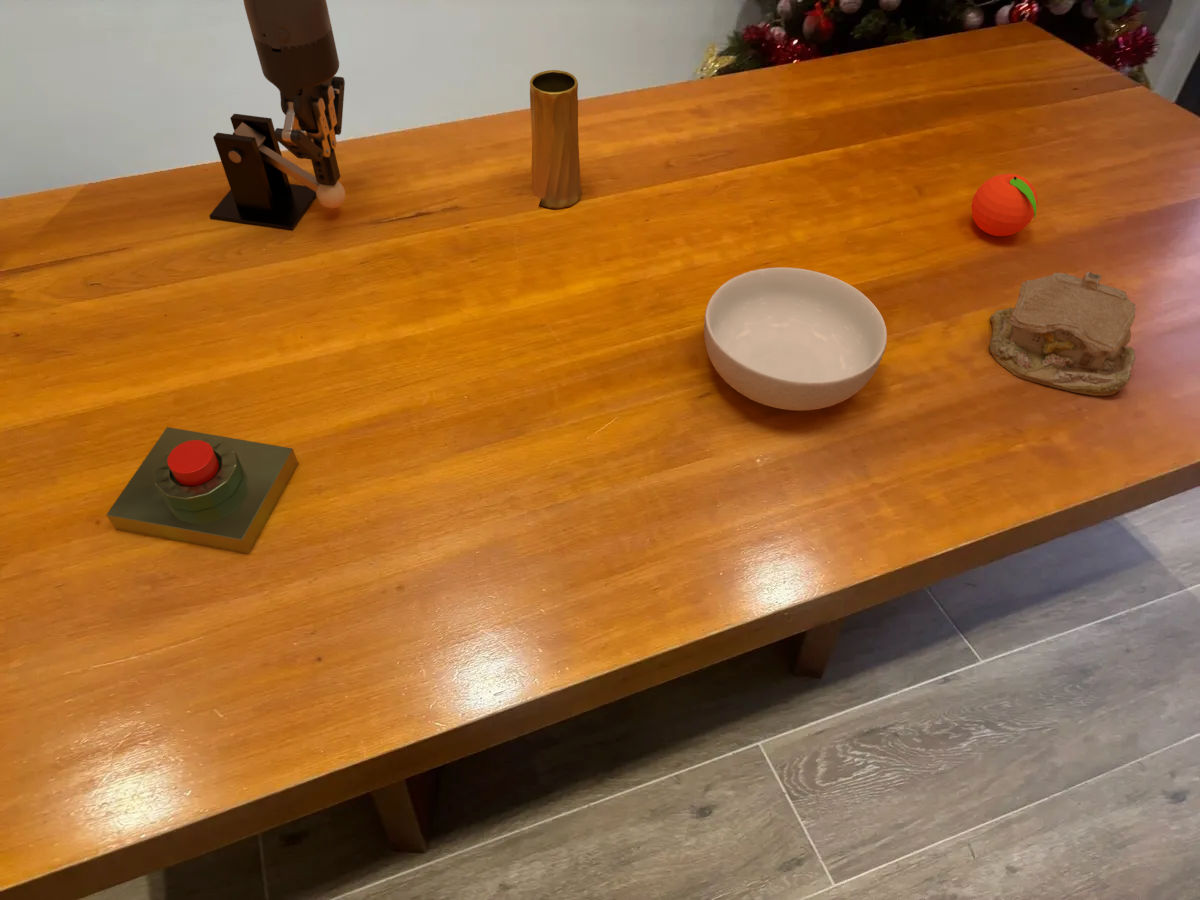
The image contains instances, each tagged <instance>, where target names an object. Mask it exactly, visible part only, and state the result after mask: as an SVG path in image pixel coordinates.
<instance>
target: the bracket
mask: <svg viewBox="0 0 1200 900" xmlns="http://www.w3.org/2000/svg"><path fill="white" fill-rule="evenodd" d="M229 119H230V123H231V125H232V129H233V132H234V131H235V130H236V129H237V128H238V126H239V125H240V124H241V123H242V122H243V123H244V124H246V125H248V126H249V127H251V128H252V129H254V130H256V131H257V132H259V133H261V134H262V135H264V136H265V137H266V139H265V142H264V144H263V145H265V146H266V147H268V148H269V149H271V150H273V151H274V152H276V153H278V154H279V155H281V156H282V151H281V148H280V143H279V142H278V141H277V140H276V138H275V130H276V129H275V126H274V123H273V119H272V118H271V117H264V116H257V115H250V114H249V115H248V114H242V113H241V114H240V113H233V114H232V115H231V117H230V118H229ZM212 138H213V141H214V144H215V147H216V150H217V153H218V156H219V159H220V162H221V164H222V168H223V171H224V174H225V177H226V180H227V183H228V185H229V188H230V190H229V191H227V193H226V195H225V196H224V197H223V198H221V200H220V202H219V203H218V204H217V205H216V206H215V208H214V209H213V210H212V212H210V214H209V216H208V217H209V219H210V220H214V221H220V222H227V223H234V224H241V225H247V226H255V227H262V228H269V229H276V230H283V231H290V232H291V231H292V232H293V231H294V230H295V229H296V227H297V225H298V224H299V223H300V221H301V220H302V218H303V217H304V216H305V214H306V213H307V211H308V210H309V208H310V207H311V205H312V204H313V203H314V202H315V200H316V199H317V196H316V192H315V191H313V190H312V189H310V188H308V187H307V186H305V185H303V184H294V183H290V180H289V175H287V174H285V173H284V172H282V171H280V170H279V169H277V168H276V167H274V166H272V165H271V164H269V163H267V162H266V161H264V160H262V159H261V155H260V152H259V149H258V145H257V142H256V138H255V137H248V136H240V135H233V133H224V132H216V133H215V135H213V137H212ZM282 157H283V156H282Z"/></svg>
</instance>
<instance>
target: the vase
mask: <svg viewBox="0 0 1200 900" xmlns="http://www.w3.org/2000/svg"><path fill="white" fill-rule="evenodd" d="M578 90H579V82H578V79H577V77H576V76H575V75H574V74H572V73H570V72H568V71H565V70H559V69H548V70H543V71H540V72H538V73H535V74H534V75H532V77H531V78H530V80H529V106H530V109H529V110H530V122H531V123H530V125H531V126H530V127H531V191H532V192H533V194H534V196H535V197H537V198H539V199H540V201H539V203H538V205H539V206H541V207H544V208H548V209H563V208H568V207H571V206H574V205H575V204H576V203H578V201H579V200H580V199H581V197H582V193H583V192H582V187H581V168H580V166H581V165H580V148H579V147H580V146H579V145H580V144H579V143H580V142H579V95H578V94H579V93H578V92H579V91H578Z"/></svg>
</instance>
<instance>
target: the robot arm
mask: <svg viewBox="0 0 1200 900" xmlns="http://www.w3.org/2000/svg"><path fill="white" fill-rule="evenodd" d="M243 6H244V11H245V14H246V19H247V21H248V25H249V29H250V32H251V35H252V39H253V42H254V46H255V49H256V53H257V57H258V60H259V64H260V67H261V71H262V75H263V76H264V78H265V79H266V80H267V81H268V82H269V83H271V84H272V85H273V86H275V87H276V88H277V90H278V91H279V95H280V109H281V111H282V113H283V115H285V117H284V123H283V127H281V128H280V127H276V128H275V129H274V130H275V138H276V140H277V141H278V144H280V145H282V146H283V147H284V148H285V149H286V150H287V151H289V152H290V154H292V155H293V156H295V157H296V158H297V159H301V160H304V159H305V160H310V161H311V165H312V169H313V171H314V176H315V177H316V180H317V182H318V183H319V184H322V185H330V186H334V185H335V184H336V182H337V181H338V182H339V179H340V178H341V173H340V169H339V164H338V160H337V156H336V151H335V149H336V147H337V136H336V135H338V136H341V134H342V128H343V127H342V126H343V116H344V115H343V114H344V112H343V111H344V100H345V88H346V87H345V86H346V80H345V78H344V77H342V76H337V75H336V74H337V73H338V71H339V70H340V61H339V56H338V51H337V46H336V41H335V37H334V31H333V26H332V21H331V18H330V13H329V7H328V3H327V0H243ZM335 75H336V76H335Z"/></svg>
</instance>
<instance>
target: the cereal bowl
mask: <svg viewBox="0 0 1200 900" xmlns="http://www.w3.org/2000/svg"><path fill="white" fill-rule="evenodd" d="M704 312H705V313H704V323H703V335H704V339H703V340H704V344H705V349H706V352H707V355H708V358H709V359H708V360H709V361H710V362H711V364H712V365H711V366H713V367H714V369H715V372H717V373H718V375H719V376H720V378H722V379H723V381H724V382H725V383H726V384H727V385H729V386H730V388H732V389H734V390H735V391H736V392H737V393H739V394H741V395H742V396H744V397H746V398H747V399H749V400H750V401H754V402H756V403H758V404H762V405H764V406H766V407H771V408H774V409H779V410H780V409H781V410H787V411H803V412H804V411H814V410H820V409H824V408H829V407H832V406H836V405H837V404H840V403H843V402H844V401H846V400H848V399H850V398H851V397H854V396H855V395H856V394H857V393H858V392H860V391H861V390H862V389H863V388H864V387H865V386H866V385H867V384H868V382H869V381H870V380H871V379H872V377H873V376H874V375H875V373H876V371H877V369H878V368H879V366H880V363H881V361H882V360H883V356H884V354H885V351H886V348H887V341H888V340H887V339H888V331H887V326H886V323H885V320H884V318H883V315H882V314H881V312H880V311H879V309H878V307H876V305H875V304H874V303H873V302H872V301H871V300H870V299H869V298H868V297H867V296H866V295H865V294H864V293H862V291H860V290H859V289H857V288H856V287H854V285H853V286H852V285H851V284H849V283H847V282H845V281H843V280H841V279H840V278H837V277H834V276H832V275H828V274H826V273H823V272H820V271H815V270H811V269H805V268H798V267H782V266H781V267H767V268H766V267H765V268H759V269H754V270H750V271H747V272H743V273H741V274H738V275H736V276H734V277H732V278H730V279H729V280H727V281H726V282H724V283H723V284H721V286H720V287H718V288H717V290H716V291H715V292H714V293H713V294H712V296H711V297H710V299H709V301H708V303H707V306H706V309H705V311H704Z"/></svg>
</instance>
